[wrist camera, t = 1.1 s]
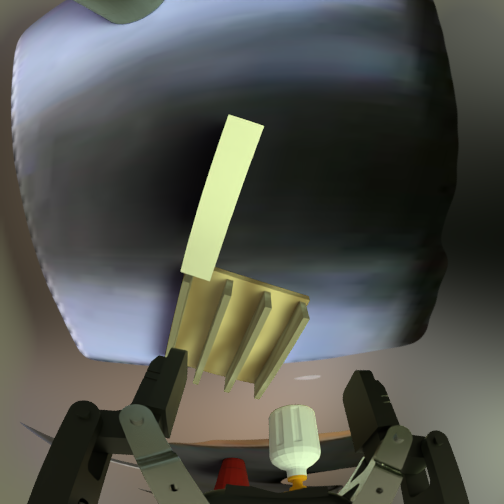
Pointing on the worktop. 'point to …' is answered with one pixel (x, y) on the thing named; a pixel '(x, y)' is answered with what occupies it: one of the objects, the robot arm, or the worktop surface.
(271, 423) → the soap bottle
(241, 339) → the dish rack
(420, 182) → the worktop surface
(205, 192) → the pale green flat slab
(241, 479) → the plastic cup
